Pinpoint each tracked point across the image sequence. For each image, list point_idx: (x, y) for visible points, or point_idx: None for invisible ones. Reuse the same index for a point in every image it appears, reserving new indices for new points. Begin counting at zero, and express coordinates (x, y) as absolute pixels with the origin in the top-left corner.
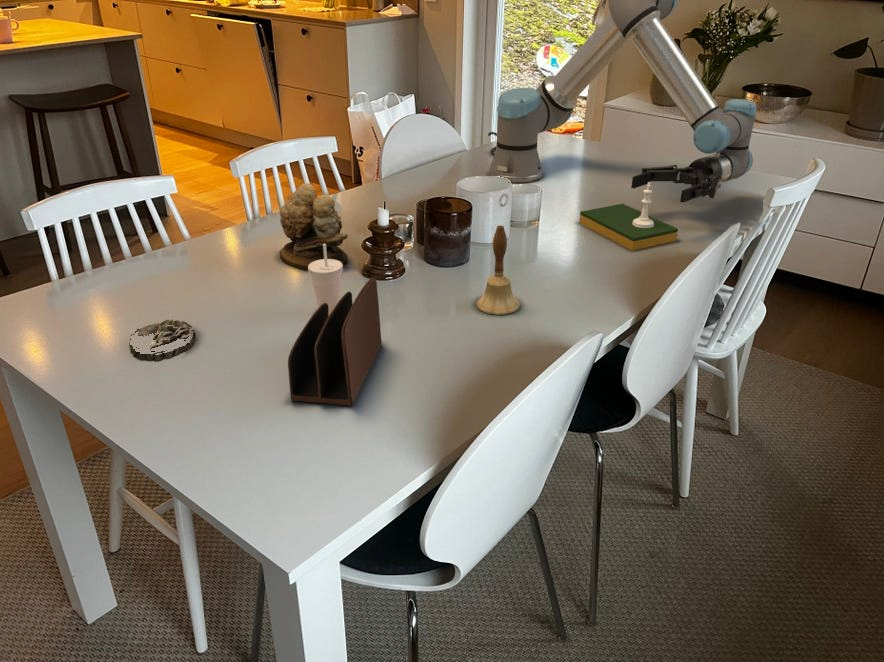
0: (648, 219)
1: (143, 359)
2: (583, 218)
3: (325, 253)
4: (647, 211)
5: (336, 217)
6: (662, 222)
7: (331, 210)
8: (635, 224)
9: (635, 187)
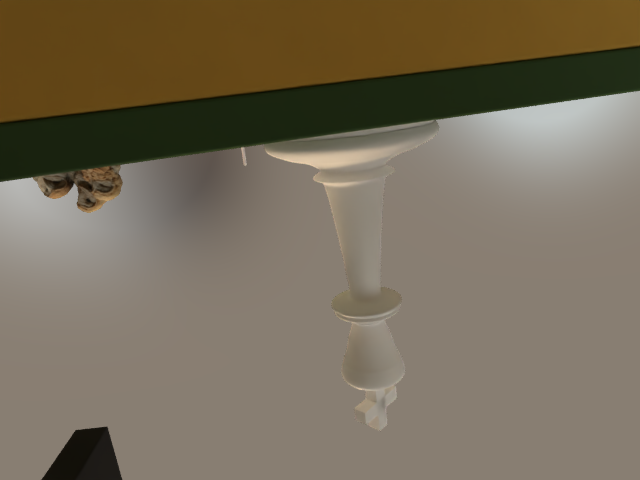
0: (385, 161)
1: None
2: None
3: (245, 156)
4: (381, 228)
5: (110, 171)
6: (480, 111)
7: (118, 182)
8: None
9: (97, 449)
